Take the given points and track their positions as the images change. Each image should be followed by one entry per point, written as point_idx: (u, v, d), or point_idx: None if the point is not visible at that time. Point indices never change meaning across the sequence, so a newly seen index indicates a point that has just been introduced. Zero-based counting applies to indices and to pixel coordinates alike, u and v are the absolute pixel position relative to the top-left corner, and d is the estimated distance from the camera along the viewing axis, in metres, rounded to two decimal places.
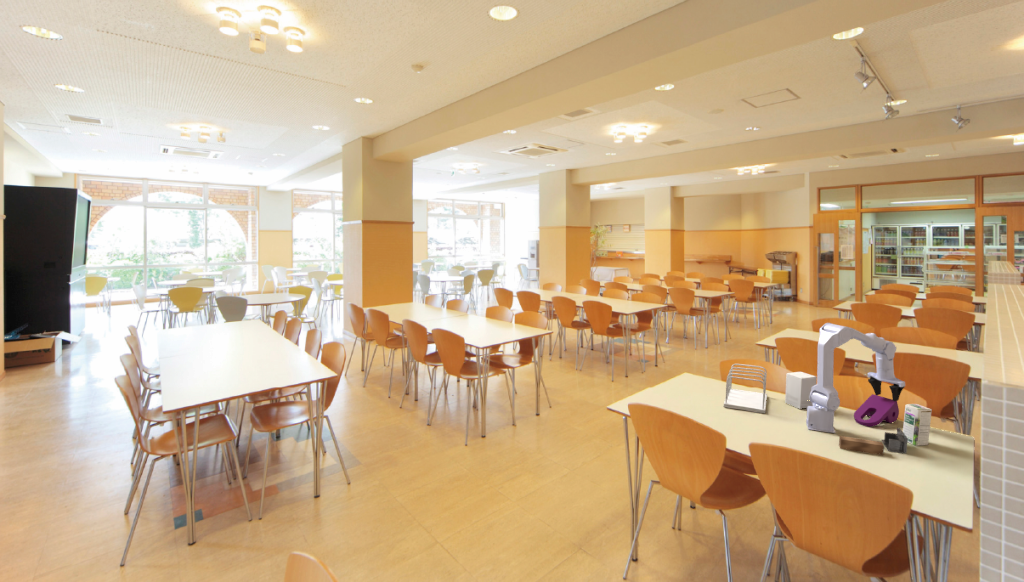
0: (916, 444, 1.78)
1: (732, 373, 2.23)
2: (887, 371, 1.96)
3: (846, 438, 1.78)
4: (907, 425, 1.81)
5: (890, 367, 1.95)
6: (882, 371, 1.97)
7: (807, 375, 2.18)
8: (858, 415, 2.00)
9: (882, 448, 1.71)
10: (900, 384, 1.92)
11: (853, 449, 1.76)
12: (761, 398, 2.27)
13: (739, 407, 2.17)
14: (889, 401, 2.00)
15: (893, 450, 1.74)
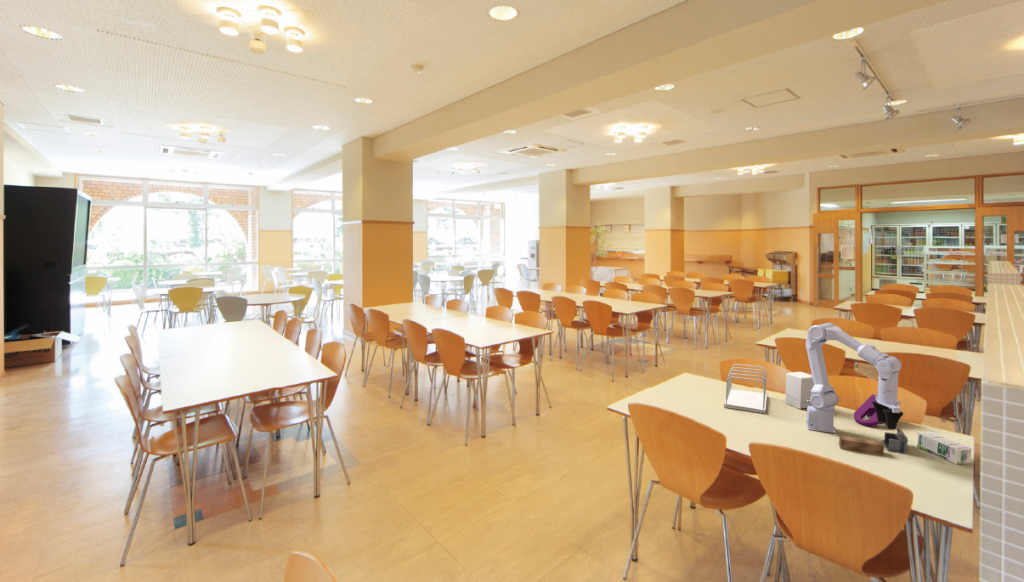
0: None
1: (732, 373, 2.23)
2: (885, 393, 1.71)
3: (846, 438, 1.77)
4: (935, 445, 1.71)
5: (882, 388, 1.72)
6: (880, 392, 1.73)
7: (807, 375, 2.18)
8: (858, 415, 2.01)
9: (882, 448, 1.71)
10: (893, 409, 1.67)
11: (853, 449, 1.75)
12: (761, 398, 2.27)
13: (739, 407, 2.17)
14: None
15: (893, 450, 1.74)
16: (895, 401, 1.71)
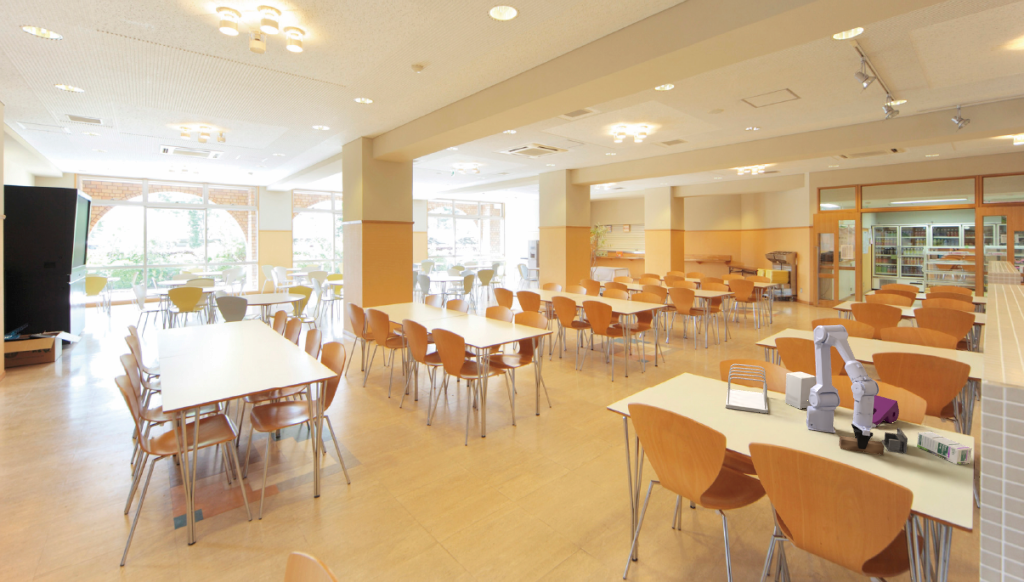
0: None
1: (733, 374, 2.22)
2: (859, 415, 1.73)
3: (846, 438, 1.77)
4: (935, 445, 1.71)
5: (855, 409, 1.74)
6: (855, 413, 1.74)
7: (807, 375, 2.18)
8: None
9: (882, 448, 1.71)
10: (863, 431, 1.69)
11: (853, 449, 1.75)
12: (761, 398, 2.27)
13: (741, 408, 2.16)
14: (889, 401, 2.00)
15: (893, 450, 1.74)
16: (869, 424, 1.72)
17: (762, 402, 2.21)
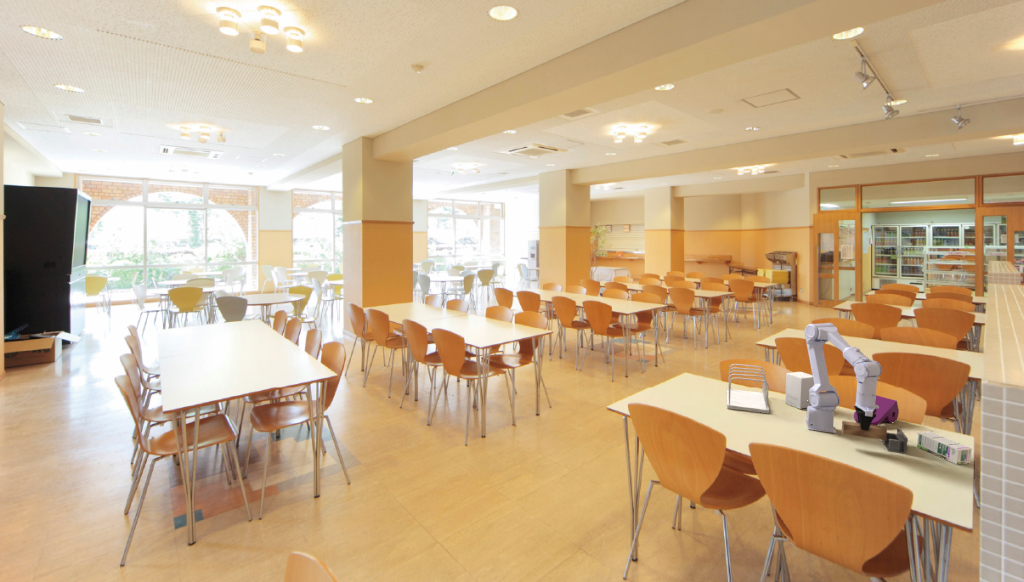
0: None
1: (734, 374, 2.22)
2: (862, 396, 1.73)
3: (849, 423, 1.78)
4: (935, 445, 1.71)
5: (858, 390, 1.74)
6: (857, 395, 1.74)
7: (807, 375, 2.18)
8: None
9: (885, 432, 1.71)
10: (865, 412, 1.69)
11: (856, 434, 1.75)
12: (761, 398, 2.27)
13: (743, 408, 2.16)
14: (889, 401, 2.00)
15: (893, 450, 1.74)
16: (872, 405, 1.72)
17: (762, 402, 2.21)
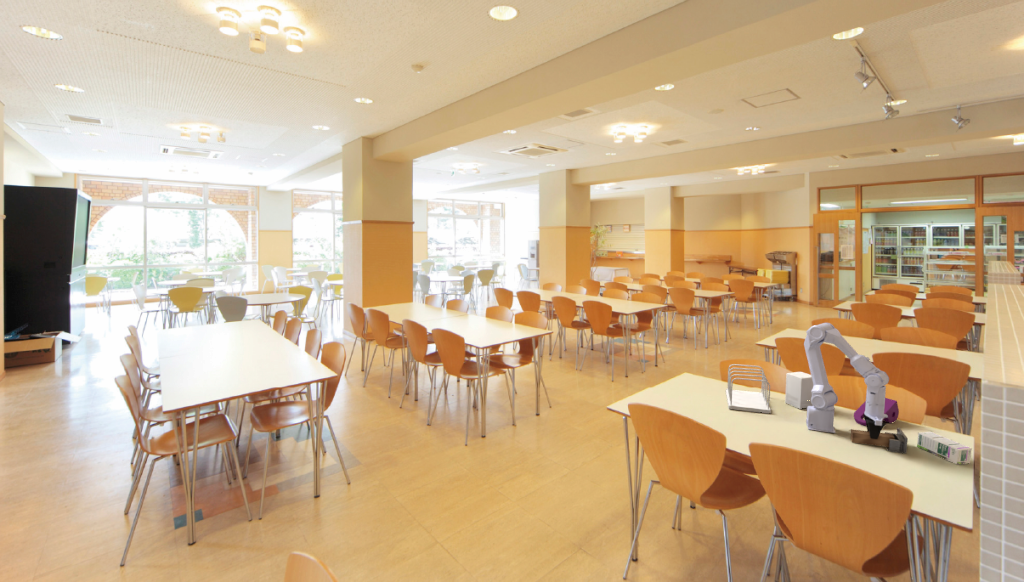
0: None
1: (735, 374, 2.21)
2: (871, 405, 1.77)
3: (857, 431, 1.82)
4: (935, 445, 1.71)
5: (870, 401, 1.77)
6: (867, 404, 1.79)
7: (807, 375, 2.18)
8: (858, 415, 2.00)
9: None
10: (875, 421, 1.74)
11: (865, 442, 1.80)
12: (761, 398, 2.27)
13: (745, 408, 2.15)
14: (889, 401, 2.00)
15: (893, 450, 1.74)
16: (881, 414, 1.76)
17: (763, 402, 2.21)
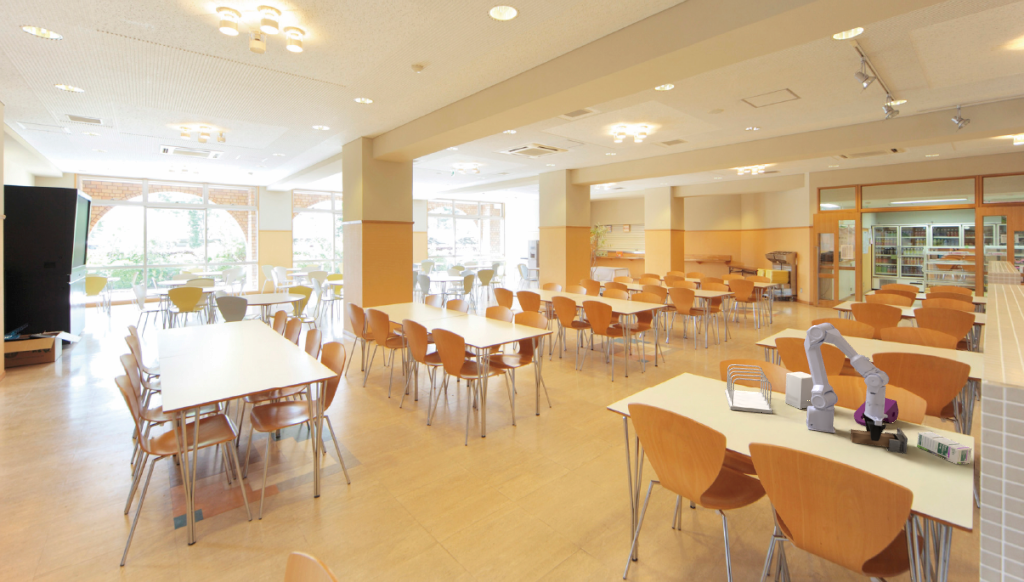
0: None
1: None
2: (871, 405, 1.77)
3: (857, 431, 1.82)
4: (935, 445, 1.71)
5: (870, 401, 1.77)
6: (867, 404, 1.79)
7: (807, 375, 2.18)
8: (858, 416, 2.00)
9: None
10: (875, 421, 1.74)
11: (865, 442, 1.80)
12: (761, 398, 2.27)
13: (746, 409, 2.15)
14: (889, 401, 2.00)
15: (893, 450, 1.74)
16: (881, 414, 1.76)
17: (763, 402, 2.22)
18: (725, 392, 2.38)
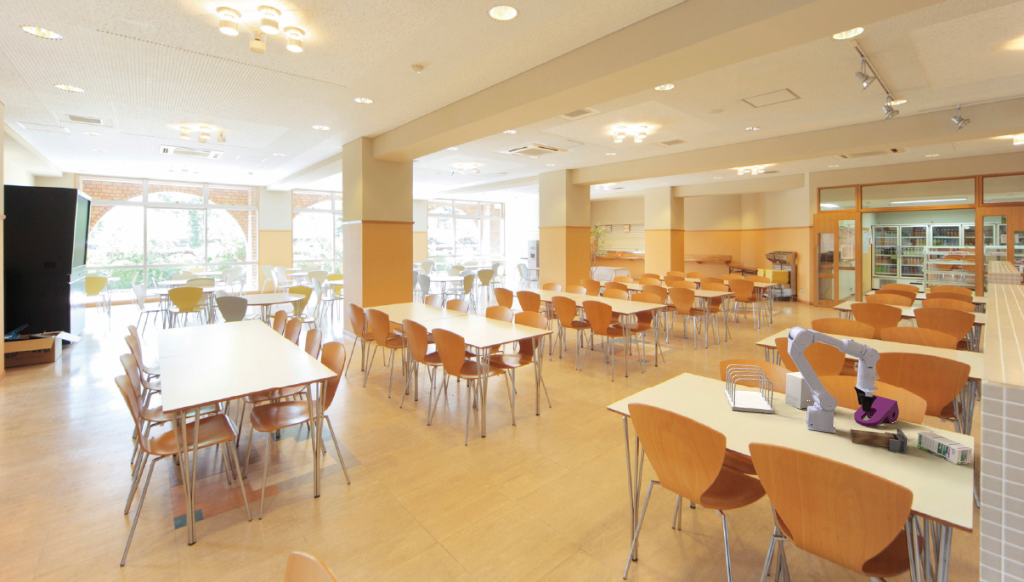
0: None
1: (737, 375, 2.20)
2: (862, 378, 1.88)
3: (857, 431, 1.82)
4: (935, 445, 1.71)
5: (868, 375, 1.86)
6: (858, 377, 1.89)
7: None
8: (858, 416, 2.00)
9: None
10: (866, 393, 1.84)
11: (865, 442, 1.80)
12: (760, 397, 2.27)
13: (748, 409, 2.15)
14: (889, 401, 2.00)
15: (893, 450, 1.74)
16: (871, 386, 1.87)
17: (764, 402, 2.22)
18: (724, 392, 2.38)
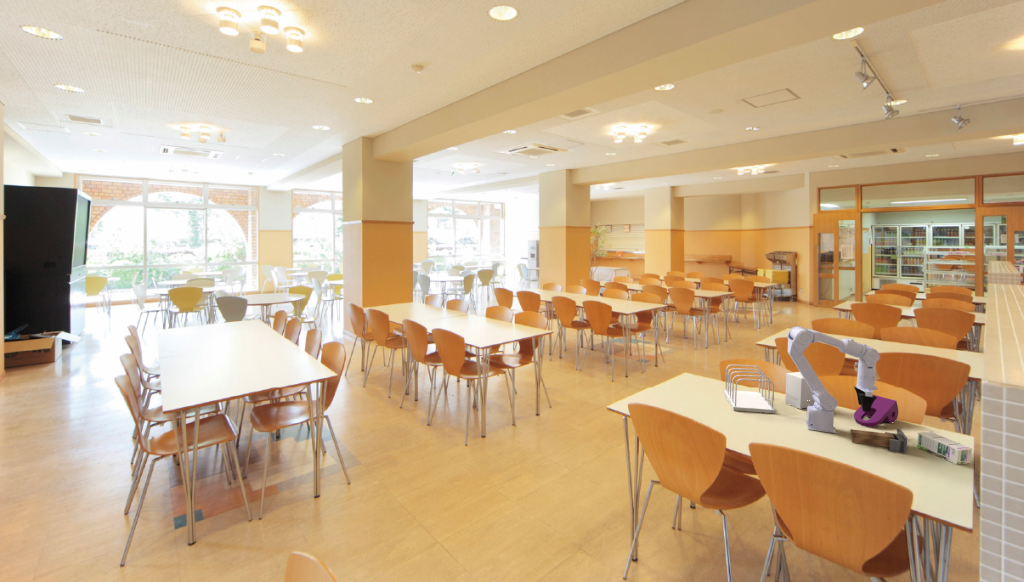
0: None
1: (738, 375, 2.20)
2: (862, 378, 1.88)
3: (857, 431, 1.82)
4: (935, 445, 1.71)
5: (868, 375, 1.86)
6: (858, 377, 1.89)
7: None
8: (858, 416, 2.00)
9: None
10: (866, 393, 1.84)
11: (865, 442, 1.80)
12: (760, 397, 2.28)
13: (749, 409, 2.14)
14: (889, 401, 2.00)
15: (893, 450, 1.74)
16: (871, 386, 1.87)
17: (764, 402, 2.22)
18: (724, 393, 2.38)
